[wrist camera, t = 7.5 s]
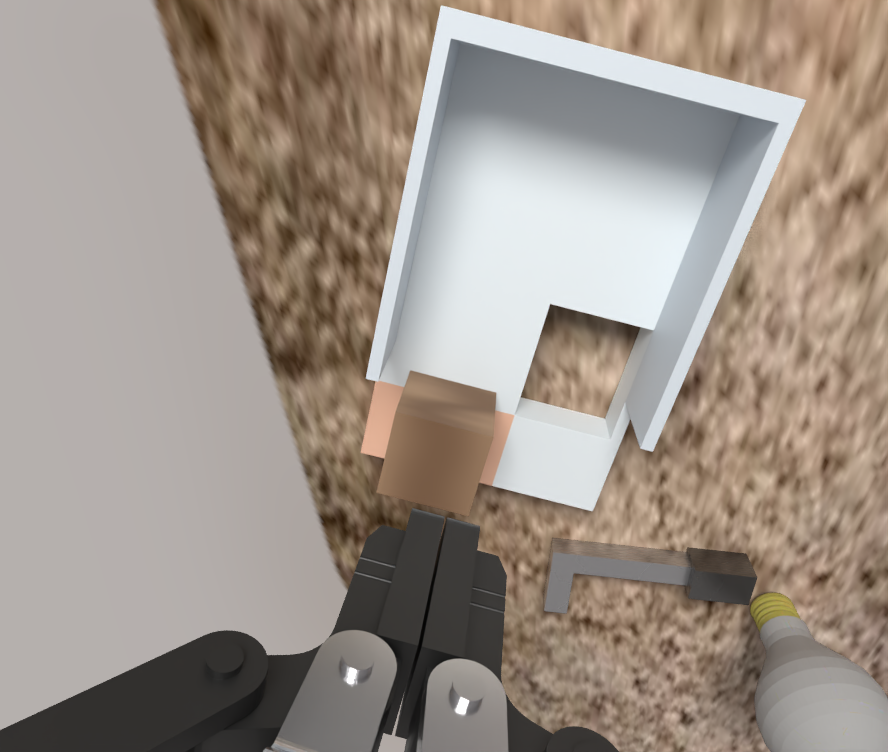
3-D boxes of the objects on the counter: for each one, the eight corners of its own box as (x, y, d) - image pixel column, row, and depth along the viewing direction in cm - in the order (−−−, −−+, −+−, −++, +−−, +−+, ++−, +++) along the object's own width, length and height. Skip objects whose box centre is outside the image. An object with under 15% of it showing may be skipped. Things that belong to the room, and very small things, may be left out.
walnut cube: (496, 392, 30) (493, 437, 26) (474, 465, 32) (468, 516, 28) (410, 370, 30) (395, 411, 26) (392, 444, 32) (376, 492, 28)
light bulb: (837, 617, 36) (944, 802, 27) (737, 649, 37) (807, 834, 28) (801, 544, 34) (903, 716, 25) (698, 581, 36) (760, 755, 27)
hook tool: (746, 553, 35) (757, 577, 33) (726, 615, 37) (736, 641, 35) (553, 533, 35) (554, 555, 34) (543, 594, 37) (544, 619, 36)
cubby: (745, 93, 26) (806, 100, 20) (588, 487, 34) (601, 567, 29) (457, 18, 26) (441, 5, 20) (369, 432, 34) (340, 501, 28)
